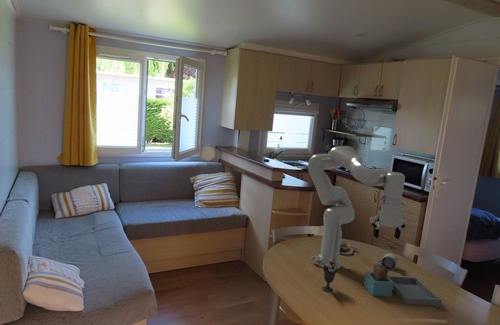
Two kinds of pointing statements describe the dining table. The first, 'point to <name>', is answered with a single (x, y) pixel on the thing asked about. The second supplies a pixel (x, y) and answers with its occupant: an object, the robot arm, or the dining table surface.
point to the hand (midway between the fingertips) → (386, 237)
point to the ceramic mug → (388, 261)
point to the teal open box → (378, 285)
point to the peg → (380, 273)
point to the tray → (414, 291)
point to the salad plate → (346, 248)
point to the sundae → (329, 275)
